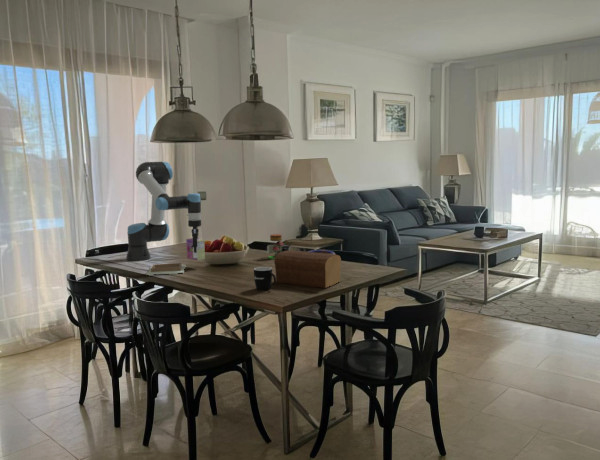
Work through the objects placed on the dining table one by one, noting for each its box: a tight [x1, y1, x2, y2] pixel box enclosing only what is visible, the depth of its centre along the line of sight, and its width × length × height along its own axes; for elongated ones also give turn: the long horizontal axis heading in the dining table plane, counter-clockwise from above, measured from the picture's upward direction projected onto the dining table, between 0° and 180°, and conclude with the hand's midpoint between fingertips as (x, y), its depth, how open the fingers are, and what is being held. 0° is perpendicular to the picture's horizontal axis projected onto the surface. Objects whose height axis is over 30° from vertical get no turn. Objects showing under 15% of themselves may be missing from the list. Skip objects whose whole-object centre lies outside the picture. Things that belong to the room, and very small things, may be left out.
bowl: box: [307, 249, 337, 255], centre depth 301 cm, size 18×18×10 cm
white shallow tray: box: [146, 262, 186, 276], centre depth 303 cm, size 22×20×3 cm
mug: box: [253, 266, 277, 291], centre depth 254 cm, size 12×9×10 cm
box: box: [185, 237, 206, 261], centre depth 310 cm, size 10×6×12 cm, turn 47°
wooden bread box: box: [273, 249, 342, 289], centre depth 266 cm, size 18×30×16 cm, turn 59°
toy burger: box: [266, 233, 285, 260], centre depth 339 cm, size 12×13×15 cm
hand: (195, 255), depth 311 cm, fingers closed on box, 11 cm apart
